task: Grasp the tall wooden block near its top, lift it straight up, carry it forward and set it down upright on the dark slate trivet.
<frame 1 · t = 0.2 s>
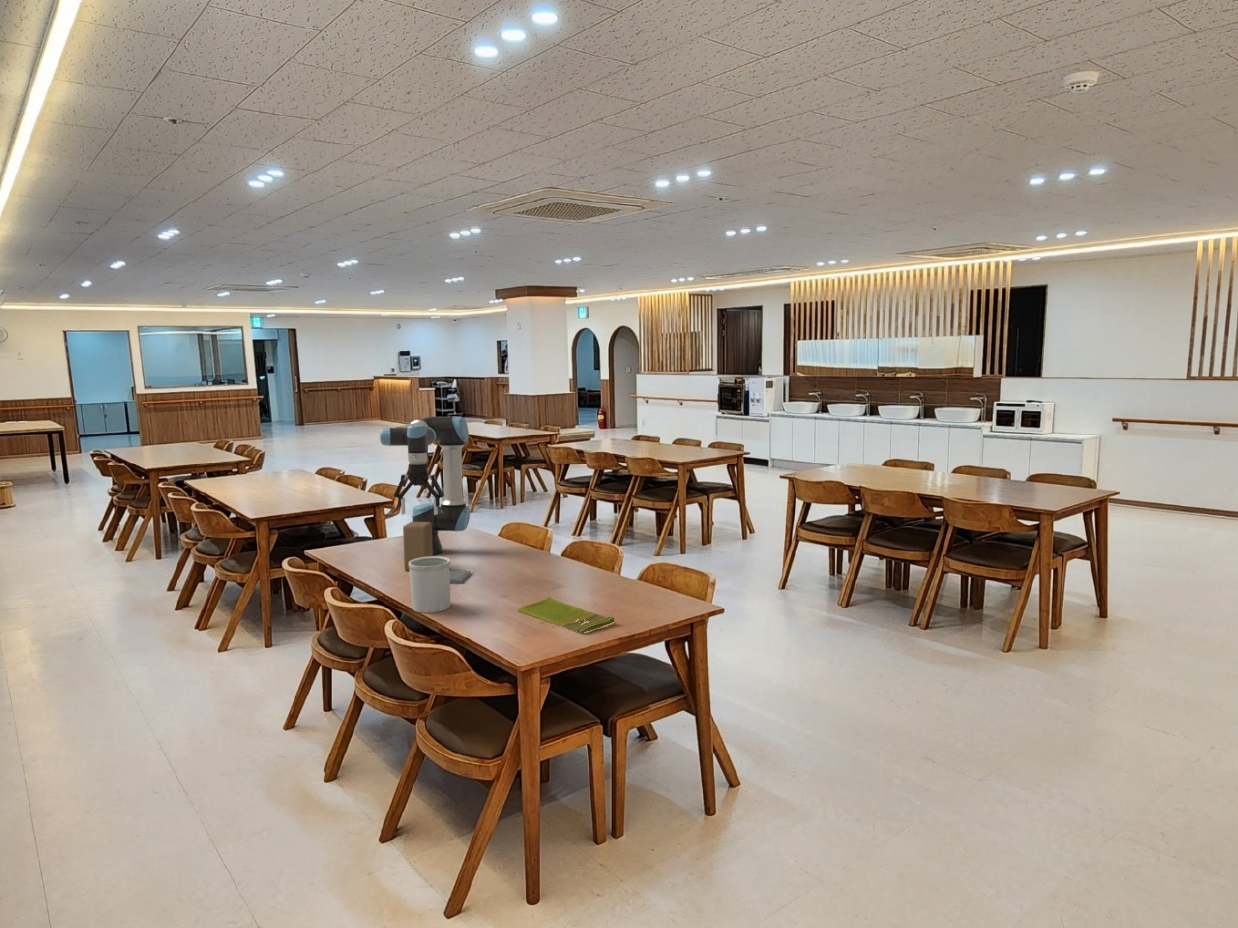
hand: (419, 514, 325), 28 cm above the table, fingers open, 13 cm apart
trivet: (447, 578, 331), on the table
wooden block: (419, 568, 347), on the table
dish towel: (565, 619, 279), on the table
utensil holder: (431, 607, 291), on the table
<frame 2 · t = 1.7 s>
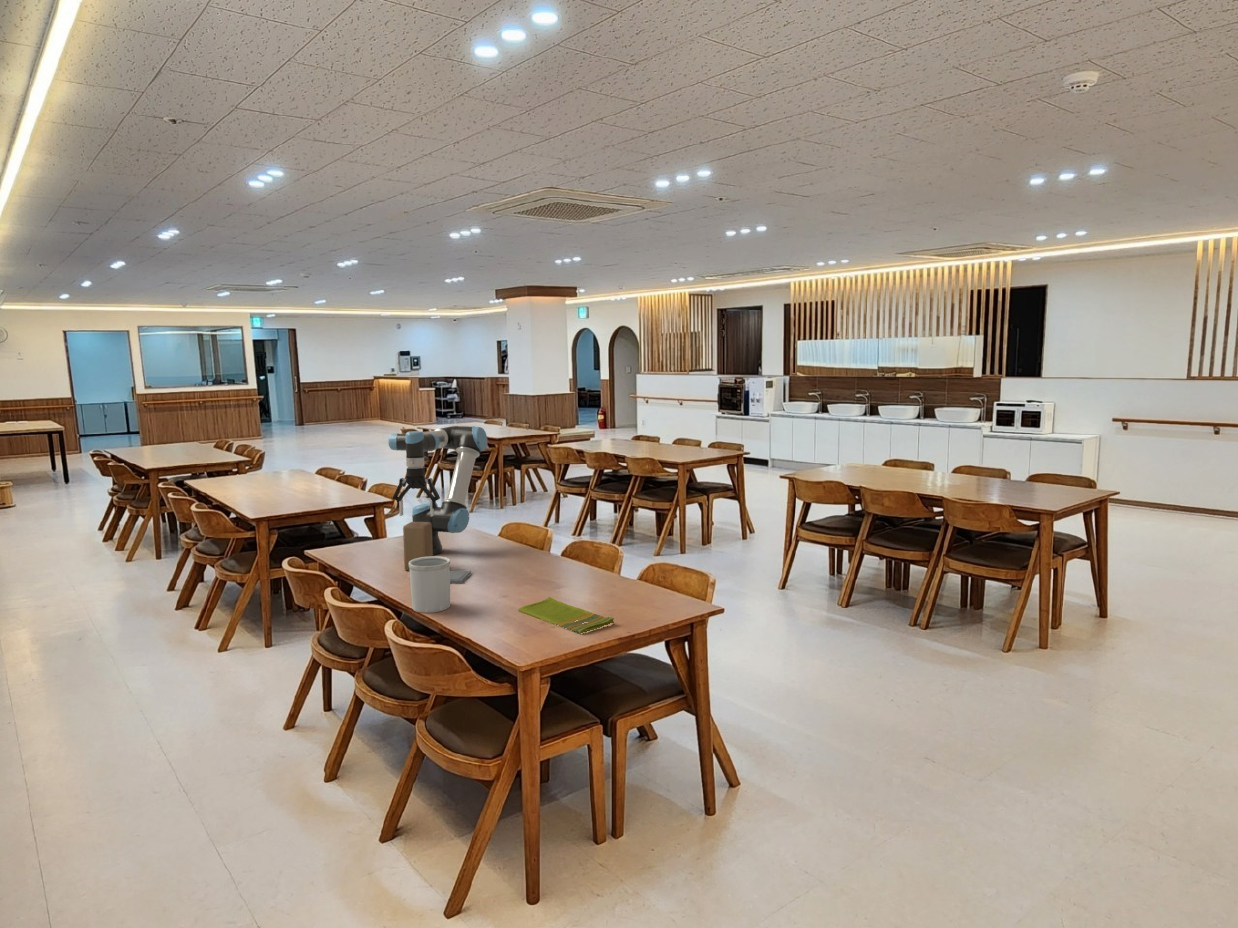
hand: (416, 515, 344), 24 cm above the table, fingers open, 13 cm apart
nothing on the table moved.
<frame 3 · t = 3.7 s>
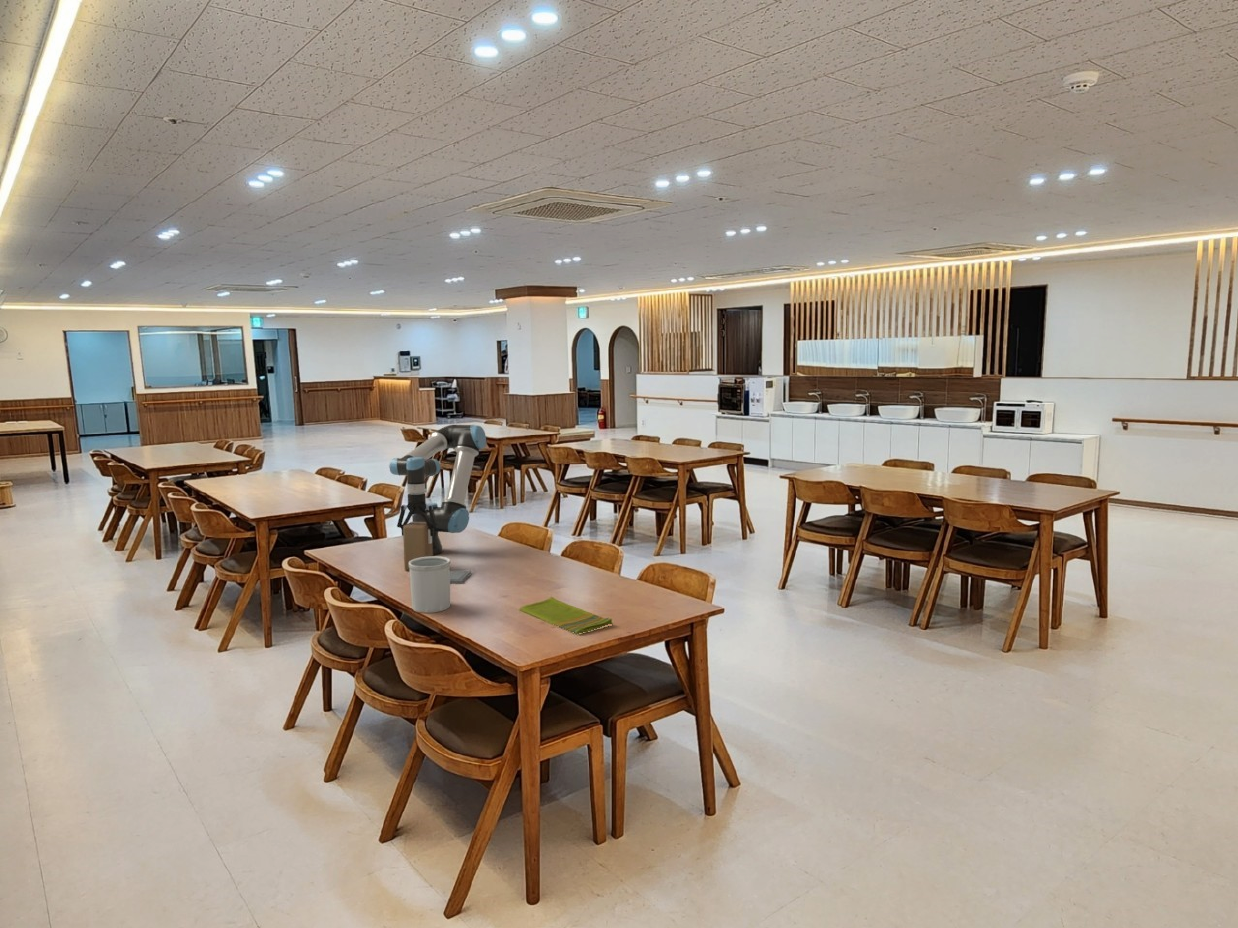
hand: (418, 543, 345), 11 cm above the table, fingers closed on wooden block, 10 cm apart
wooden block: (419, 568, 347), on the table, touching gripper
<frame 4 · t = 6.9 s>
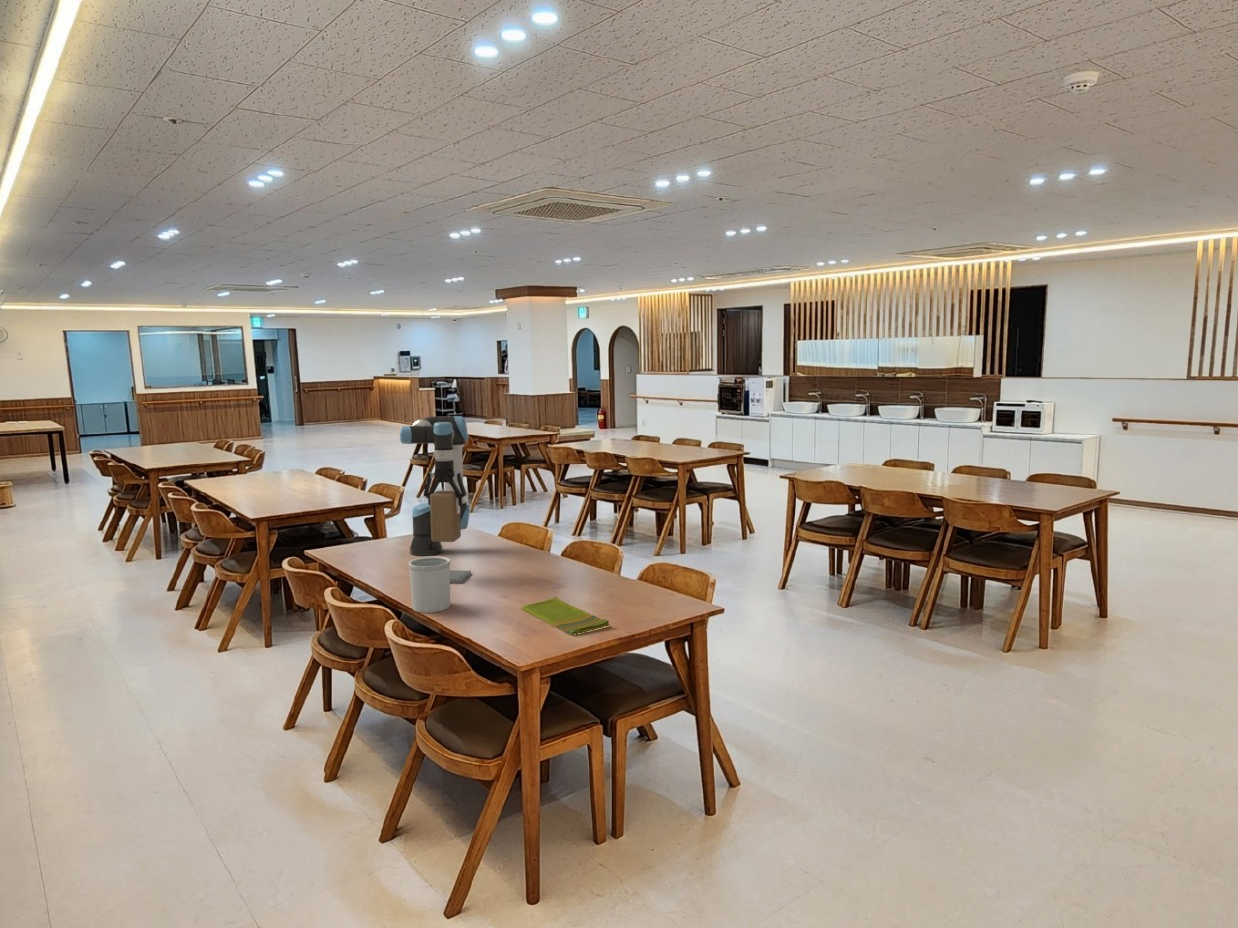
hand: (445, 513, 327), 28 cm above the table, fingers closed on wooden block, 10 cm apart
wooden block: (446, 540, 329), point 16 cm above the table, touching gripper
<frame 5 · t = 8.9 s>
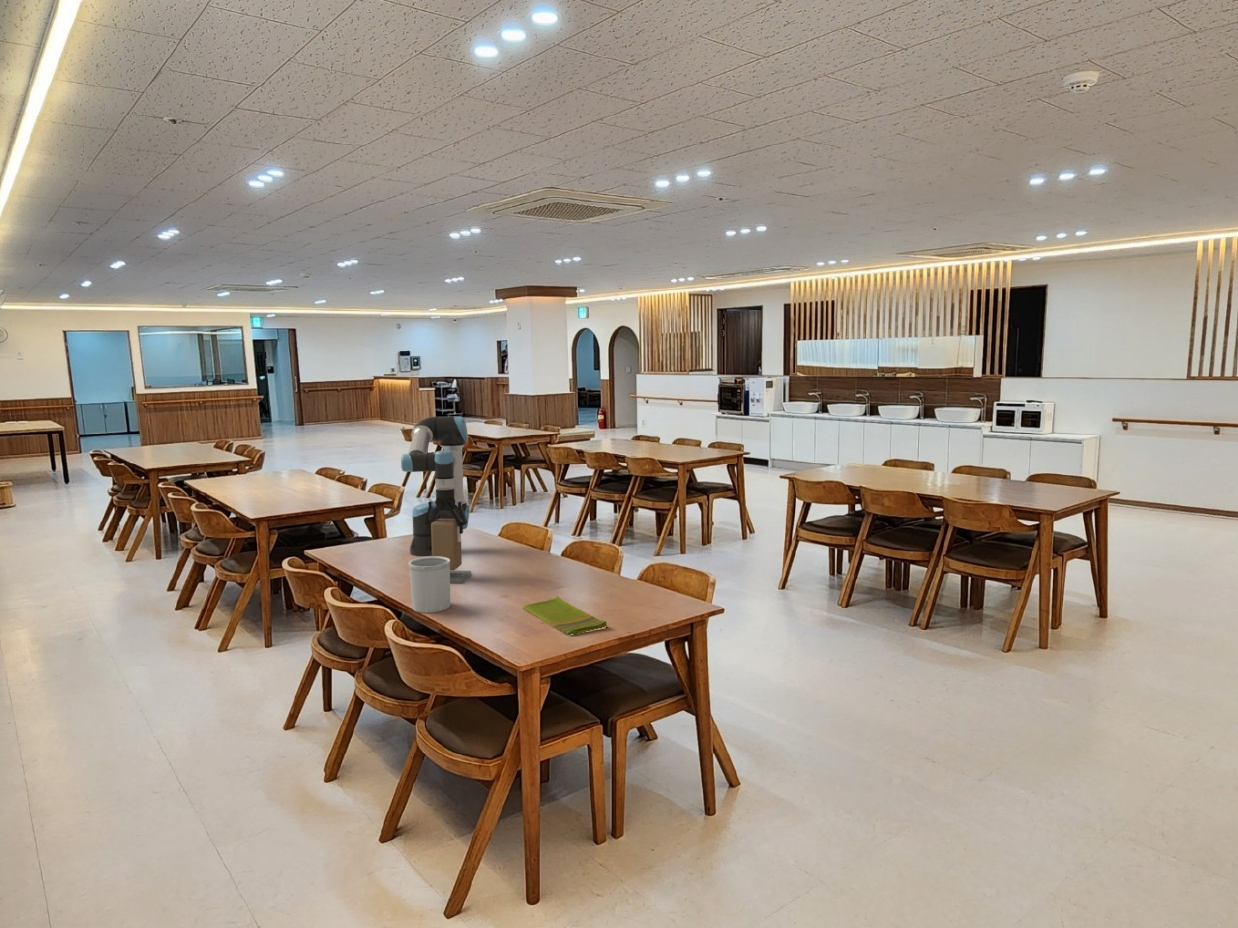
hand: (446, 541, 329), 16 cm above the table, fingers closed on wooden block, 10 cm apart
wooden block: (447, 567, 330), point 4 cm above the table, touching gripper
when the fingers open (14 cm above the table, at t = 10.3 s): wooden block drops 2 cm, resting on trivet.
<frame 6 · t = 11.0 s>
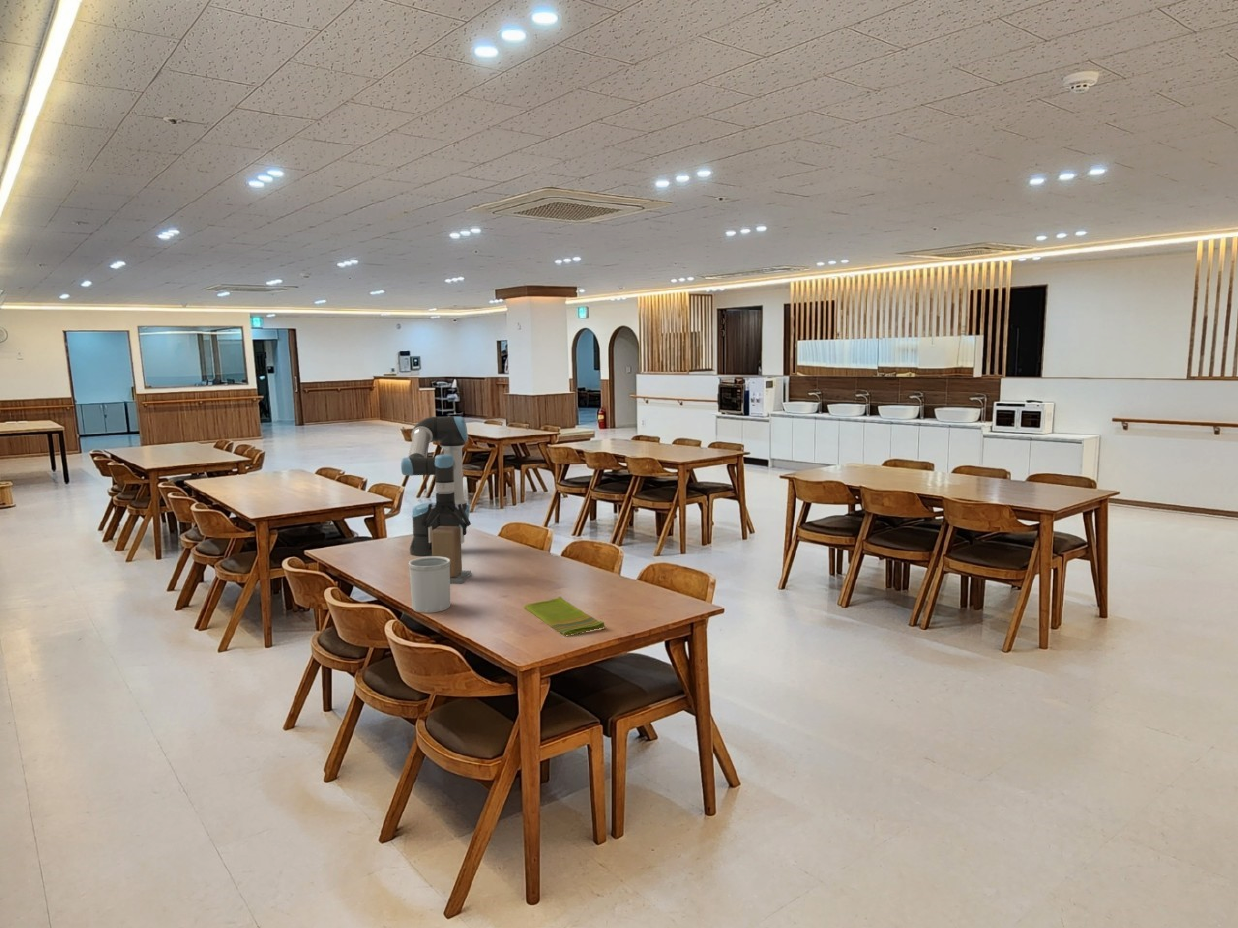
hand: (446, 542, 329), 15 cm above the table, fingers open, 13 cm apart
wooden block: (447, 575, 331), point 1 cm above the table, touching trivet
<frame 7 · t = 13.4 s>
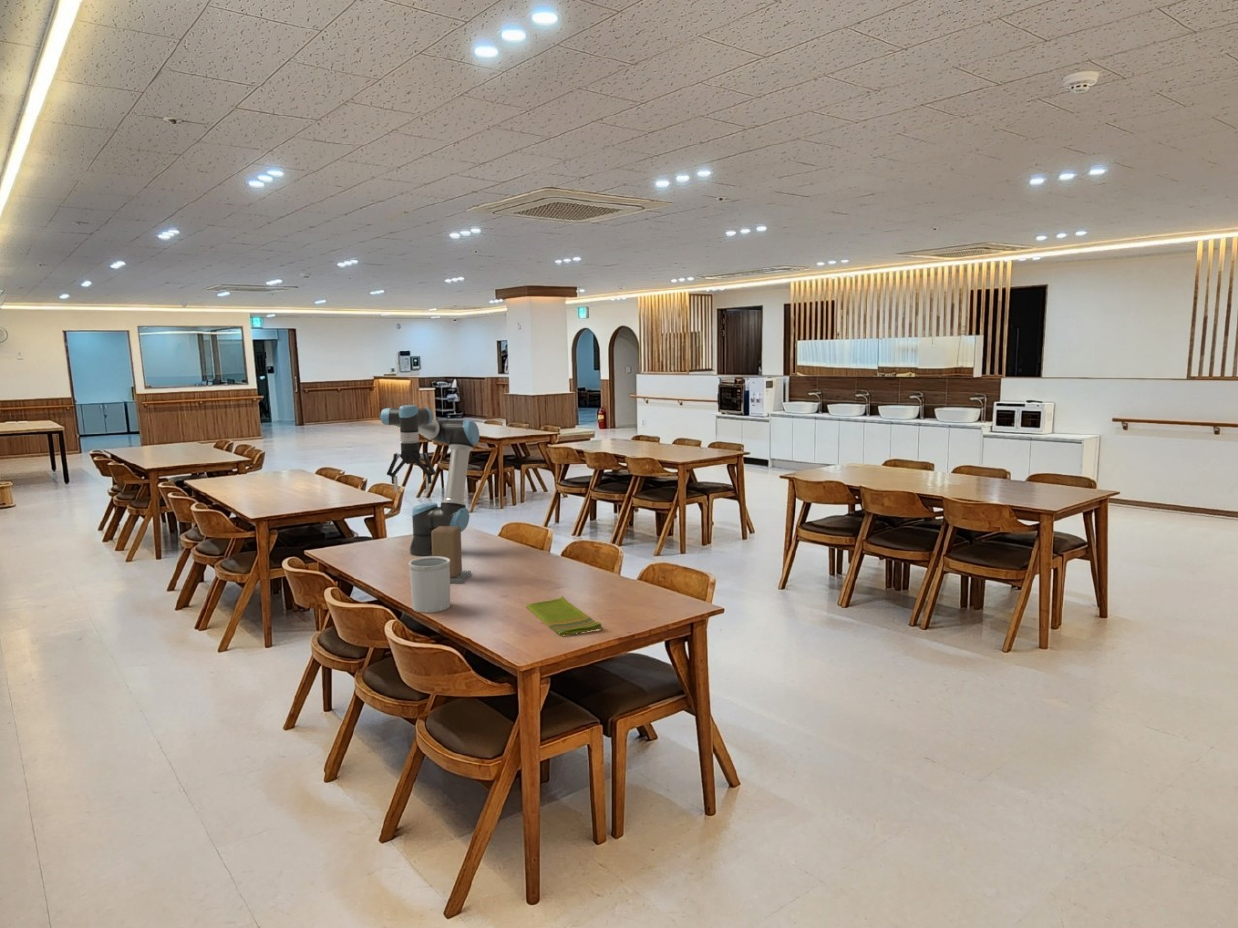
hand: (412, 491, 337), 35 cm above the table, fingers open, 13 cm apart
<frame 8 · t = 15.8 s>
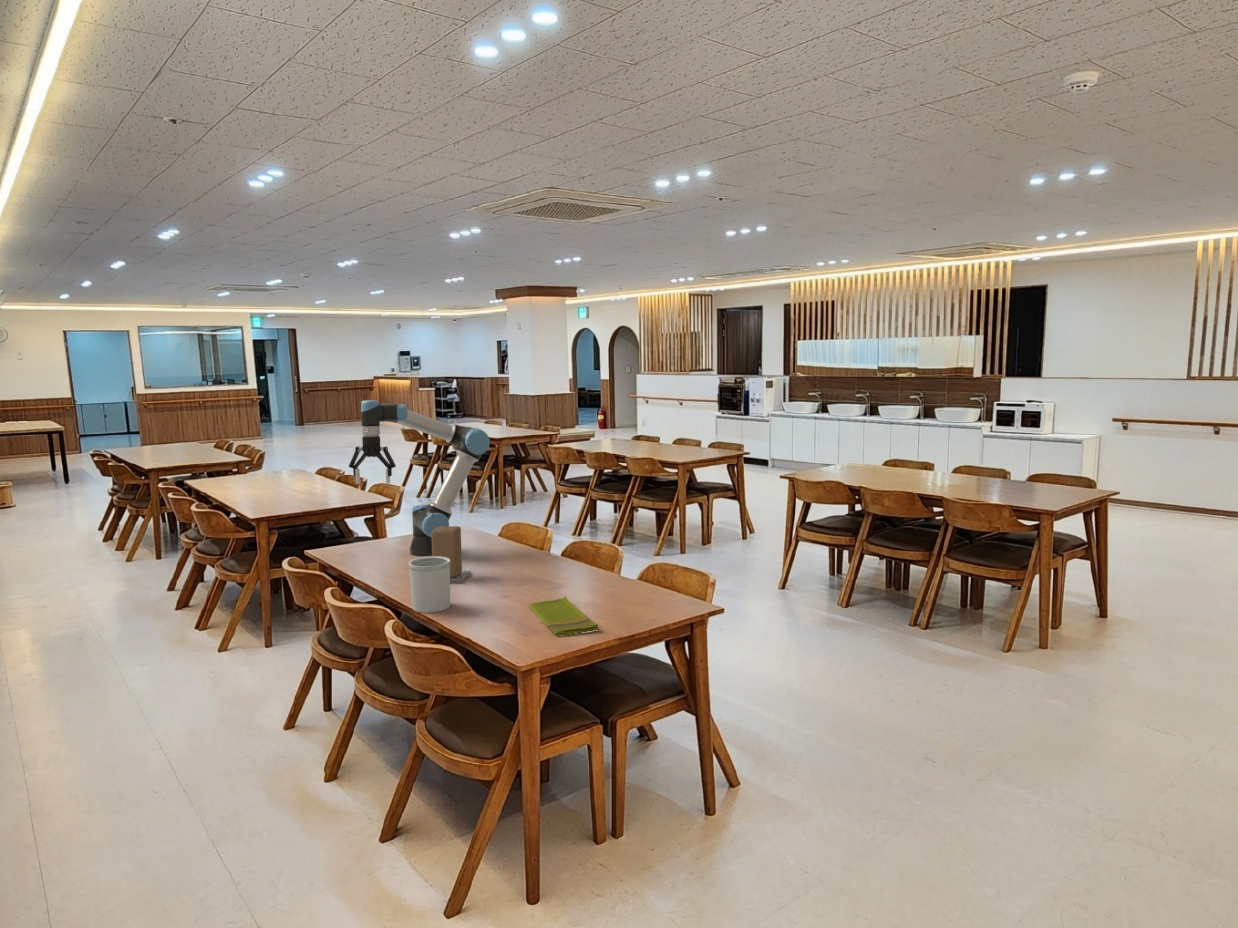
hand: (373, 483, 348), 37 cm above the table, fingers open, 13 cm apart
at the end: wooden block inside the target area on the trivet (0.0 cm from its centre), point 1.1 cm above the trivet's base; wooden block tilted 0°; wooden block touching trivet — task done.
